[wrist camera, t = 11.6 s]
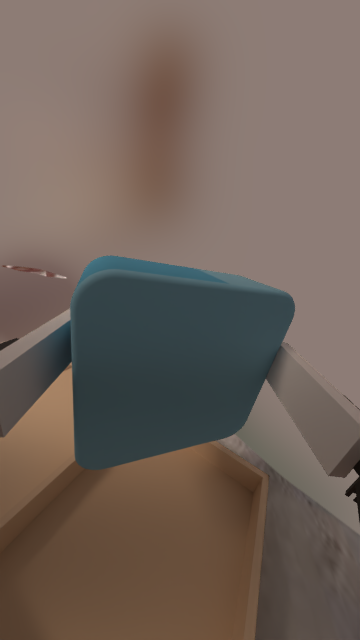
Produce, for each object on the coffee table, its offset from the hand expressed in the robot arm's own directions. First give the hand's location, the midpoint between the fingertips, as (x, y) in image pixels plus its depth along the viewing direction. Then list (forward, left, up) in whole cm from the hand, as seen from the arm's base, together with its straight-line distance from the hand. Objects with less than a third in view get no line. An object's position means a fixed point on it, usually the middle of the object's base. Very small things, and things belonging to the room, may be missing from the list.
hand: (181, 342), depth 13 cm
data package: (0, 0, -7) cm, 7 cm away
